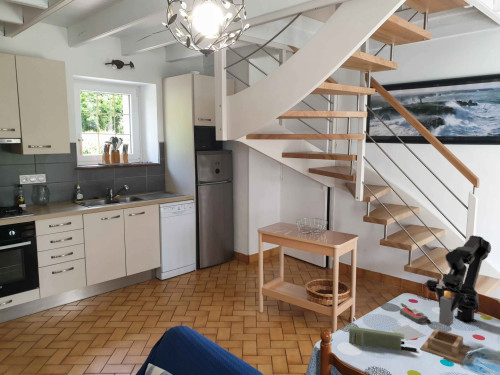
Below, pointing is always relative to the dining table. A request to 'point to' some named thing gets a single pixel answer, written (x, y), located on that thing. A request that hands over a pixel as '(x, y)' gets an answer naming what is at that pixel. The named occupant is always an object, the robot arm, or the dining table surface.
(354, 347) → the dining table surface
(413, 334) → the mat
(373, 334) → the handheld radio
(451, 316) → the connector plug
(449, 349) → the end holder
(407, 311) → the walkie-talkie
